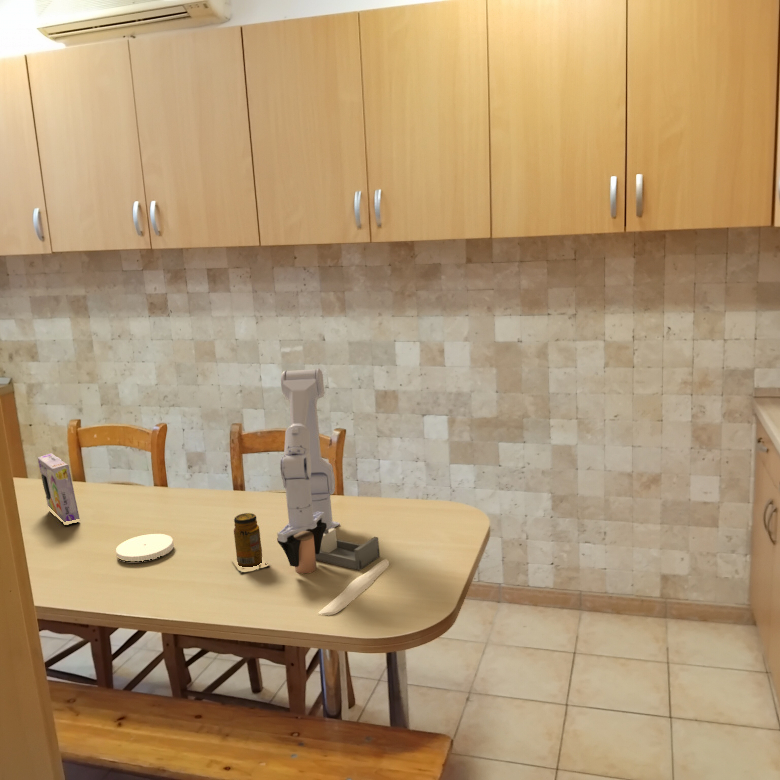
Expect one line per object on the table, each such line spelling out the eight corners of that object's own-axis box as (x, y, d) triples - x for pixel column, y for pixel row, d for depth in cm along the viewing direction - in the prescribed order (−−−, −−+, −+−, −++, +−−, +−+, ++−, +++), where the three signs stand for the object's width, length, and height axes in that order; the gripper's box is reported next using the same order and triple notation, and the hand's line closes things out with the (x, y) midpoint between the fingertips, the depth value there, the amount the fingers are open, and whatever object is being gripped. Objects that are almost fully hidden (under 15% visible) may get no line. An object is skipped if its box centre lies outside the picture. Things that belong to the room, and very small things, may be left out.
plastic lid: (180, 556, 200) (179, 546, 199) (123, 571, 193) (121, 561, 193) (166, 538, 212) (165, 529, 211) (112, 552, 206) (111, 542, 205)
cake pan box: (45, 511, 239) (36, 454, 235) (63, 506, 242) (53, 450, 238) (63, 528, 224) (52, 468, 220) (81, 523, 226) (71, 464, 223)
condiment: (260, 554, 197) (254, 509, 194) (270, 567, 189) (265, 519, 187) (231, 562, 194) (225, 515, 191) (240, 575, 186) (234, 527, 184)
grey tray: (296, 555, 195) (294, 536, 194) (317, 542, 201) (315, 524, 200) (359, 570, 184) (357, 550, 183) (379, 556, 191) (378, 537, 189)
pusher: (318, 556, 192) (316, 532, 191) (333, 546, 197) (331, 524, 196) (322, 556, 192) (320, 533, 190) (337, 547, 196) (335, 525, 195)
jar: (290, 571, 186) (287, 536, 184) (304, 562, 190) (301, 529, 188) (307, 575, 183) (303, 540, 182) (321, 566, 187) (317, 532, 186)
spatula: (381, 560, 189) (382, 551, 188) (397, 565, 187) (398, 556, 186) (315, 618, 165) (315, 607, 165) (332, 624, 164) (333, 614, 163)
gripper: (292, 518, 175) (297, 575, 178) (332, 496, 187) (337, 550, 190) (268, 513, 179) (274, 569, 182) (309, 492, 191) (314, 545, 194)
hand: (305, 559), depth 186 cm, fingers open, 7 cm apart
